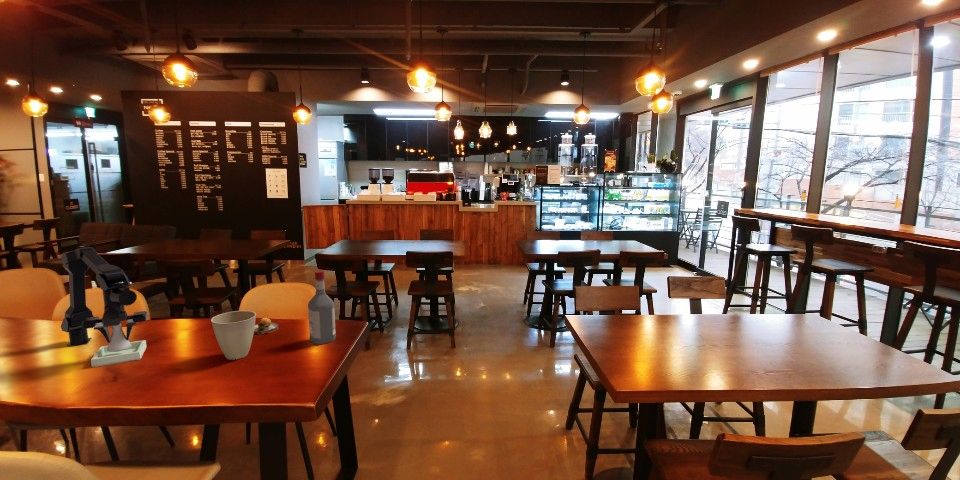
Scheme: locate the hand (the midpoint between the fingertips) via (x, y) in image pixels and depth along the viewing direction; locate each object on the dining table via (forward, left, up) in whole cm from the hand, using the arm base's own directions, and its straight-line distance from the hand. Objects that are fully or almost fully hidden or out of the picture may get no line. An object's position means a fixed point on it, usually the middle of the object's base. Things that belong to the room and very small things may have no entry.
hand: (118, 341), depth 165 cm
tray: (0, 0, -6) cm, 6 cm away
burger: (-6, +50, -7) cm, 51 cm away
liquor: (+20, +71, -7) cm, 74 cm away
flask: (0, 0, -3) cm, 3 cm away
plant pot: (+21, +39, -7) cm, 45 cm away
